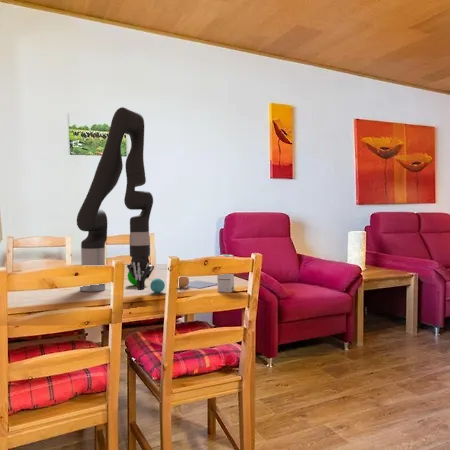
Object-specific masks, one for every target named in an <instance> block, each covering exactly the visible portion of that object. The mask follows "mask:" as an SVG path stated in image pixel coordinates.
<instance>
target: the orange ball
mask: <svg viewBox="0 0 450 450" xmlns="http://www.w3.org/2000/svg"><path fill="white" fill-rule="evenodd" d="M189 282H190V279H189V276H187V277H180V278H179V287H178V288H180V289H183V288H187V287H186V286H187V285H188V284H189Z"/></svg>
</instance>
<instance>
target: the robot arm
mask: <svg viewBox="0 0 450 450" xmlns="http://www.w3.org/2000/svg"><path fill="white" fill-rule="evenodd" d="M124 135H128V136H129V138H130V150H129V152H128V155H127V157H126V161H125V174H126V187H125V188H126V189H125V193H124V205H125V208H126V209H128V210H131V211H132V210H133V211H134V210H136V211H139V210H140V213H139V214H138V215H135V216H131V217H130V219H129V257H130V258H131V260H130V261H131V262H130V263H129V264H126V266H127V267H126V268H127V269H128V272H129V271H130V273H131V275H132V277H133V278H135V279H136V280H137V286H136V288H137V289H136V290H138V291H144V290H145V288H146V287H145V283H146V280H147V279H149V278H150V276H151V274H152V273H153V270H154V269H155V266H154V265H151V263H150V259H149V257H150V256H151V239H150V238H151V237H150V225H149V224H150V223H149V222H150V216H151V212H152V209H153V205H154V196H153V194H152V193H151V192H150V191H147V190H136V188H137V187H141V186H144V185H145V184H146V183H147V178H146V172H145V171H146V169H145V164H144V163H145V160H144V148H145V147H144V146H145V119H144V117H143V115H142V114H141V113H138V112H137V111H134V110H133V109H129V108H127V107H124V106H122V107H119V108H117V110H116V111H115V112H114V113H113V116H112V119H111V122H110V127H109V131H108V134H107V139H106V142H105V145H104V149H103V151H102V154H101V157H100V159H99V162H98V164H97V167H96V169H95V173H94V176H93V179H92V181H91V184H90V185H89V186H90V187H89V189H88V192H87V194H86V196H85V198H84V200H83V203H82V205H81V206H80V208H79V211H78V214H77V215H76V226H77V228H78V229H79V230H80V231H82V232H88V235H87V237H85V238H84V239H83V240H82V241H81V243H80V251H81V252H80V255H81V258H80V260H81V261H80V262H81V263H80V266H81V265H105V266H106V242H107V238H108V217H107V214H106V211H104V210H103V209H101V208H100V207H101V205H102V203H103V201H104V200H105V198H106V197H108V195H109V194H110V193H111V192H112V191H113V190H114V189H115V187H116V186H117V184H118V182H119V180H120V177H121V174H122V172H123V167H124V166H123V165H124V164H123V158H122V151H121V149H122V148H121V147H122V142H123V139H124ZM142 274H143V275H142ZM145 279H146V280H145ZM105 290H106V283H105V284H99V285H90V286H83V287H80V286H79V291H80V292H91V293H92V292H101V291H105Z"/></svg>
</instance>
